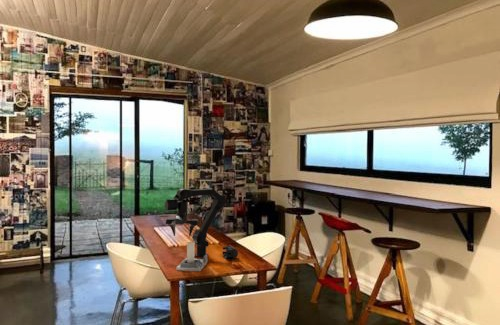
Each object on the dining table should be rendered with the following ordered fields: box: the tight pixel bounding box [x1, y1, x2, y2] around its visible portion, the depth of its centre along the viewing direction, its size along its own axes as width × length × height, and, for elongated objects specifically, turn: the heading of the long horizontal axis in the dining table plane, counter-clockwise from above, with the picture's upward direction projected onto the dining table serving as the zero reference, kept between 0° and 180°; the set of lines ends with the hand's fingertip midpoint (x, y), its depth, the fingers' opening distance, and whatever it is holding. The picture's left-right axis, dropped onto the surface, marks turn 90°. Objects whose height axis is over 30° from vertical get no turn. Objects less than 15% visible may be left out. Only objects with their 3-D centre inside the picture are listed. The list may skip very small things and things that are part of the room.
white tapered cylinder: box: [186, 241, 196, 263], centre depth 221 cm, size 4×4×14 cm
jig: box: [175, 253, 209, 272], centre depth 226 cm, size 19×13×4 cm
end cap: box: [222, 244, 239, 261], centre depth 245 cm, size 10×7×7 cm
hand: (182, 236), depth 242 cm, fingers open, 9 cm apart
